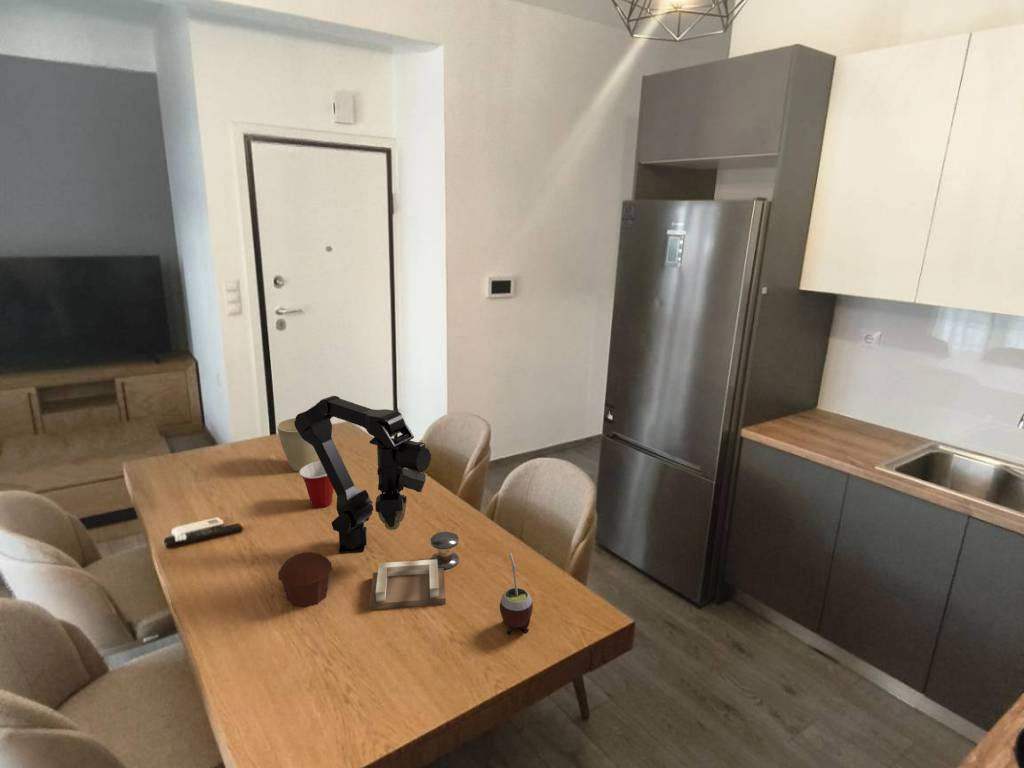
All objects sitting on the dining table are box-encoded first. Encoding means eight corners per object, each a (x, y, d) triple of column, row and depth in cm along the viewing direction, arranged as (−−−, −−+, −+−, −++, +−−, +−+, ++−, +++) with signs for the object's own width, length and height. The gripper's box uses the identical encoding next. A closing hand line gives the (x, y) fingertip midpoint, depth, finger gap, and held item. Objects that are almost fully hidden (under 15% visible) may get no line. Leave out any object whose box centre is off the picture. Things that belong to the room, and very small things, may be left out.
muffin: (336, 578, 141) (334, 542, 139) (331, 608, 131) (328, 569, 128) (285, 582, 139) (281, 546, 137) (275, 613, 129) (271, 573, 126)
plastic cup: (297, 501, 178) (294, 465, 175) (331, 492, 184) (329, 457, 181) (309, 516, 170) (306, 478, 167) (345, 506, 176) (342, 469, 173)
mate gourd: (521, 642, 122) (523, 580, 118) (489, 628, 126) (490, 567, 122) (538, 622, 128) (541, 562, 124) (508, 609, 132) (509, 551, 128)
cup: (400, 536, 142) (399, 507, 140) (372, 533, 144) (371, 503, 142) (411, 521, 149) (410, 493, 147) (384, 518, 151) (383, 490, 149)
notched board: (369, 609, 131) (368, 594, 130) (373, 577, 142) (372, 563, 141) (445, 603, 133) (445, 588, 132) (443, 573, 145) (443, 558, 143)
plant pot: (318, 477, 195) (314, 432, 191) (273, 475, 195) (269, 431, 191) (332, 459, 209) (329, 417, 205) (290, 458, 209) (287, 416, 205)
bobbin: (431, 570, 146) (430, 547, 144) (430, 554, 152) (430, 532, 150) (459, 568, 147) (459, 545, 145) (457, 553, 153) (457, 531, 151)
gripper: (423, 477, 134) (424, 537, 138) (423, 446, 152) (424, 501, 156) (373, 479, 132) (376, 540, 137) (379, 448, 150) (381, 503, 155)
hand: (392, 520), depth 146 cm, fingers closed on cup, 6 cm apart
